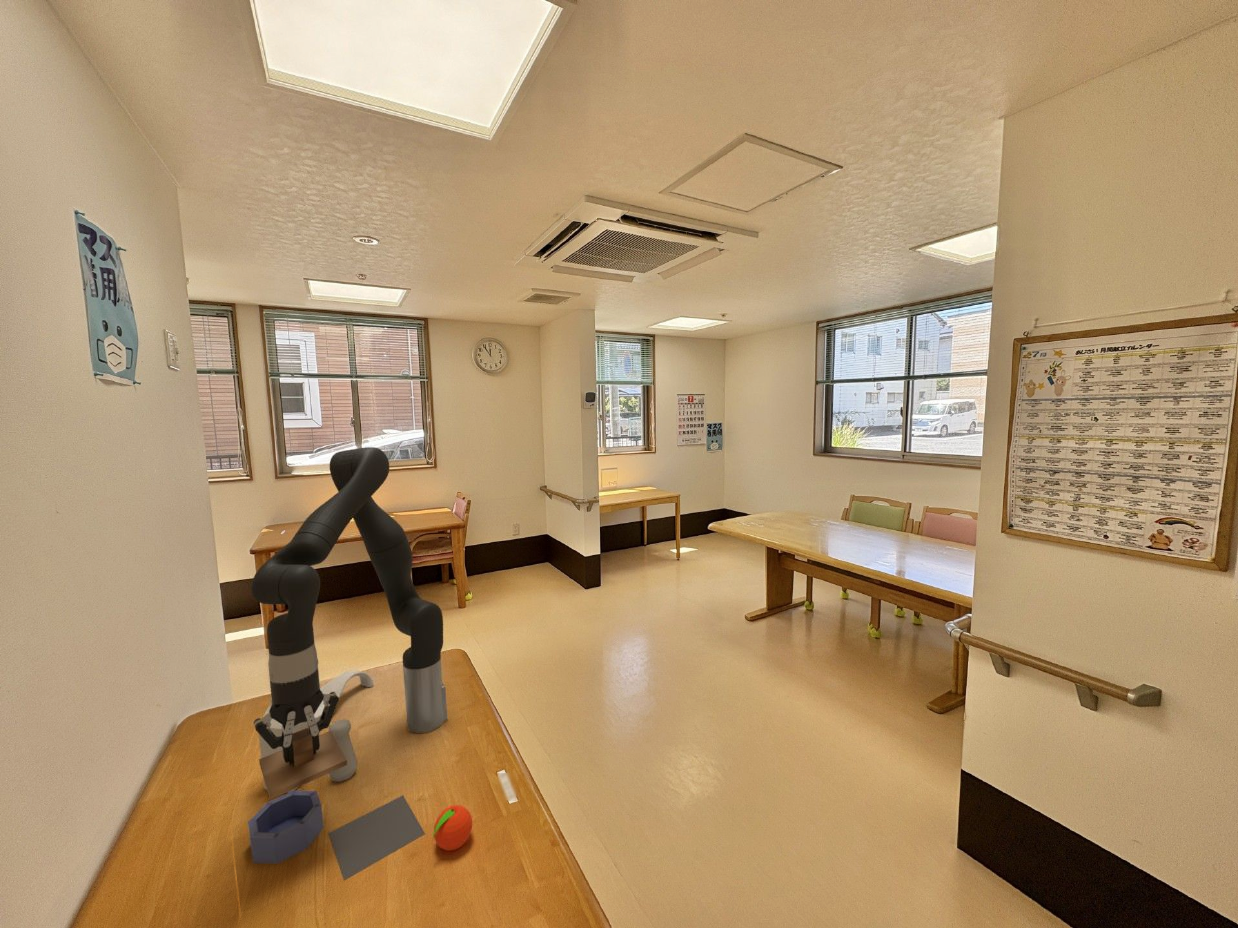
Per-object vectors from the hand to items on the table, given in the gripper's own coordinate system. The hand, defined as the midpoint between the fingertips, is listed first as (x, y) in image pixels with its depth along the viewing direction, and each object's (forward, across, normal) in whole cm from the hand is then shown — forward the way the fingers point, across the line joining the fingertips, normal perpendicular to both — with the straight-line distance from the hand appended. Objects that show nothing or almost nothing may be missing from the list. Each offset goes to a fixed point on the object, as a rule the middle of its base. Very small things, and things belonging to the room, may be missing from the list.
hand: (302, 756), depth 93 cm
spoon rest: (+18, -14, -46) cm, 52 cm away
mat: (+17, -10, +8) cm, 21 cm away
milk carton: (+17, -1, -21) cm, 27 cm away
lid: (+2, 0, 0) cm, 2 cm away
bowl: (+17, +3, -3) cm, 18 cm away
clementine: (+17, -19, +20) cm, 33 cm away
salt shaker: (+17, -9, -14) cm, 24 cm away
